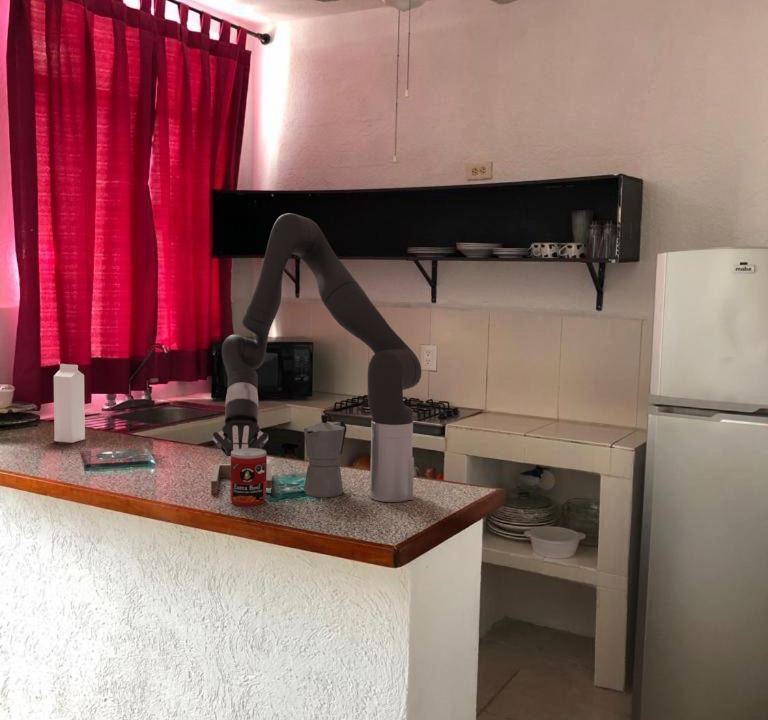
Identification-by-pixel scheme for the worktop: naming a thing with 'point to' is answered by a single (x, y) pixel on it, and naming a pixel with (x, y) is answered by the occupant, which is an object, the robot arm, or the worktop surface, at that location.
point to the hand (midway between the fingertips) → (239, 470)
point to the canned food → (248, 476)
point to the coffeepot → (324, 458)
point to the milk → (69, 404)
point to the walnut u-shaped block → (224, 471)
